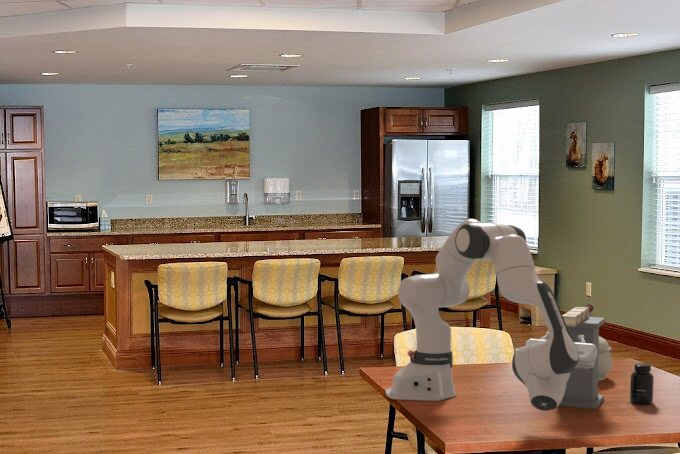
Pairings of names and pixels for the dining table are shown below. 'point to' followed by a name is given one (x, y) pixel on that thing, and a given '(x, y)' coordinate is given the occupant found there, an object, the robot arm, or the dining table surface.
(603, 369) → the kettle
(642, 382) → the supplement bottle
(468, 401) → the dining table surface
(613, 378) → the dining table surface
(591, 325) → the tool stand
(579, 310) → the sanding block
